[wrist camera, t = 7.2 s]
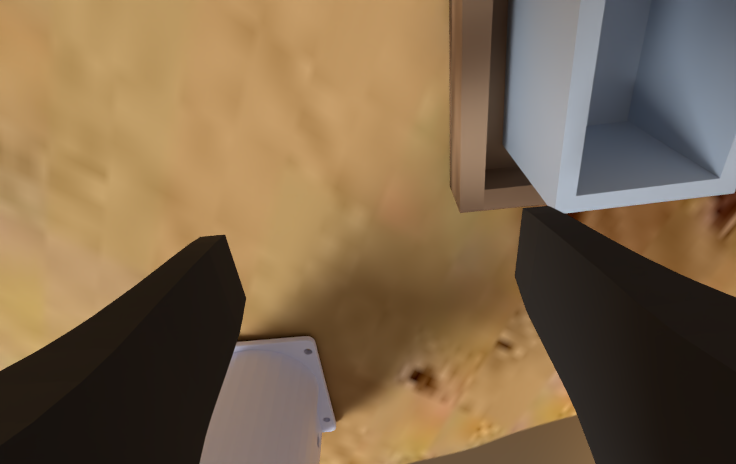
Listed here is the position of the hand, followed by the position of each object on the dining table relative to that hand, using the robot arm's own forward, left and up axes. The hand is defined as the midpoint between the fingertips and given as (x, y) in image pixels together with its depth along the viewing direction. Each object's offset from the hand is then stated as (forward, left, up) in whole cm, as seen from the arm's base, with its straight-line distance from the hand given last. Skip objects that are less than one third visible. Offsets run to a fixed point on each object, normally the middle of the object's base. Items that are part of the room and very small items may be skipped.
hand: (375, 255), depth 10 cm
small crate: (+3, -8, -9) cm, 13 cm away
